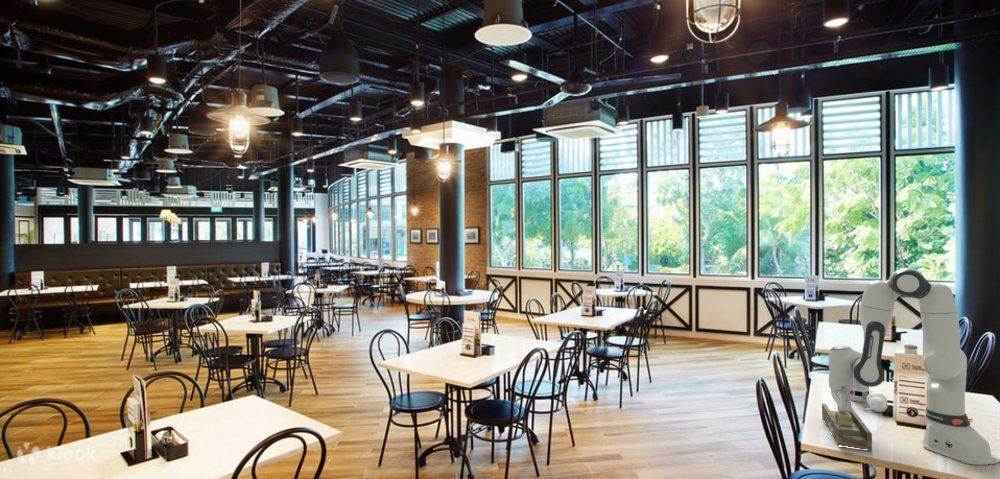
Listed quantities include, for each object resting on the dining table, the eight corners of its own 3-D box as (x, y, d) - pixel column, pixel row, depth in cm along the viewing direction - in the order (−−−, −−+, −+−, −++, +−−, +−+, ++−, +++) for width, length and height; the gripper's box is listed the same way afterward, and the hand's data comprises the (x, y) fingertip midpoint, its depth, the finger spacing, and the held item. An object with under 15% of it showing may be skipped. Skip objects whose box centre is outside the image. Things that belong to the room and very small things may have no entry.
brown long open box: (822, 418, 227) (821, 403, 227) (851, 421, 222) (850, 405, 222) (838, 447, 197) (838, 429, 197) (872, 451, 193) (871, 433, 193)
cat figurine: (881, 394, 229) (878, 386, 239) (857, 403, 234) (855, 395, 244) (894, 412, 227) (890, 403, 237) (870, 420, 232) (867, 411, 242)
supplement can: (845, 399, 251) (844, 369, 251) (855, 396, 254) (854, 367, 254) (862, 403, 244) (862, 373, 243) (872, 401, 247) (872, 370, 247)
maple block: (835, 420, 214) (835, 410, 214) (849, 421, 213) (848, 412, 212) (837, 424, 210) (837, 415, 210) (852, 425, 208) (851, 416, 208)
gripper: (855, 392, 204) (856, 425, 204) (844, 377, 223) (844, 408, 223) (837, 390, 207) (838, 423, 207) (827, 376, 225) (828, 407, 226)
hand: (841, 415), depth 215 cm, fingers closed
